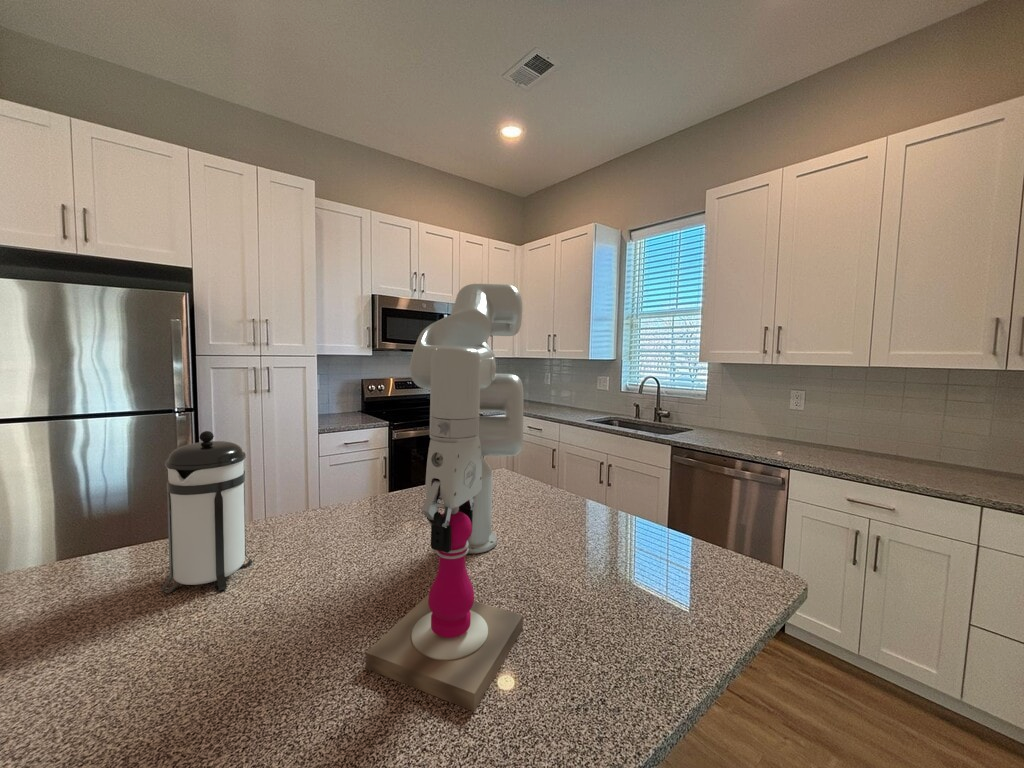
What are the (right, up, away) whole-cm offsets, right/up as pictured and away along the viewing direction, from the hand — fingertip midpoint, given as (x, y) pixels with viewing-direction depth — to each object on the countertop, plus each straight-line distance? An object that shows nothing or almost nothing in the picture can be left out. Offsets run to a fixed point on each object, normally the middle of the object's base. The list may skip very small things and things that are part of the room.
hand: (452, 539), depth 65 cm
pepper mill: (0, -14, +1) cm, 14 cm away
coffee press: (-52, -15, +20) cm, 58 cm away
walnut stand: (-1, -18, +1) cm, 18 cm away
